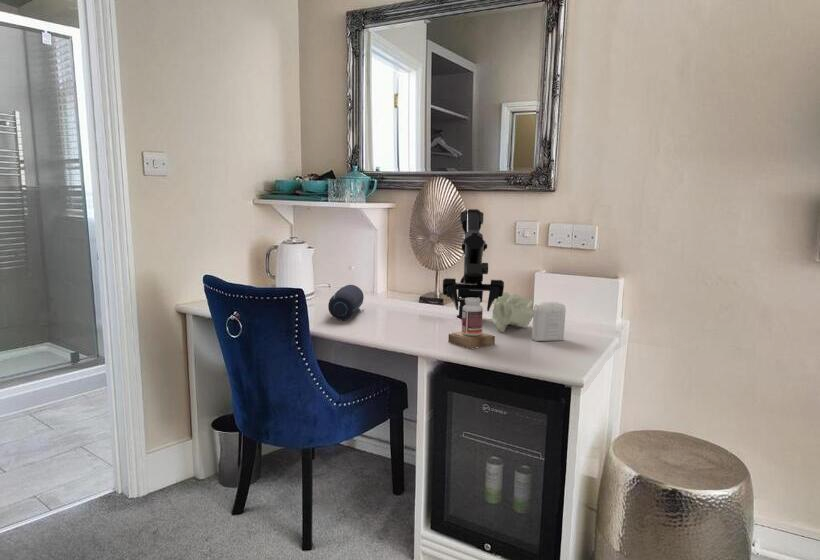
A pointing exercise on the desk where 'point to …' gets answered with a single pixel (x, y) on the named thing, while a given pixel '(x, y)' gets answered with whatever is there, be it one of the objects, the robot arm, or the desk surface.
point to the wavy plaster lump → (512, 311)
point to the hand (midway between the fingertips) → (472, 310)
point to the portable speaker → (345, 302)
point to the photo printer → (548, 321)
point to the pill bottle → (472, 317)
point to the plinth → (471, 339)
